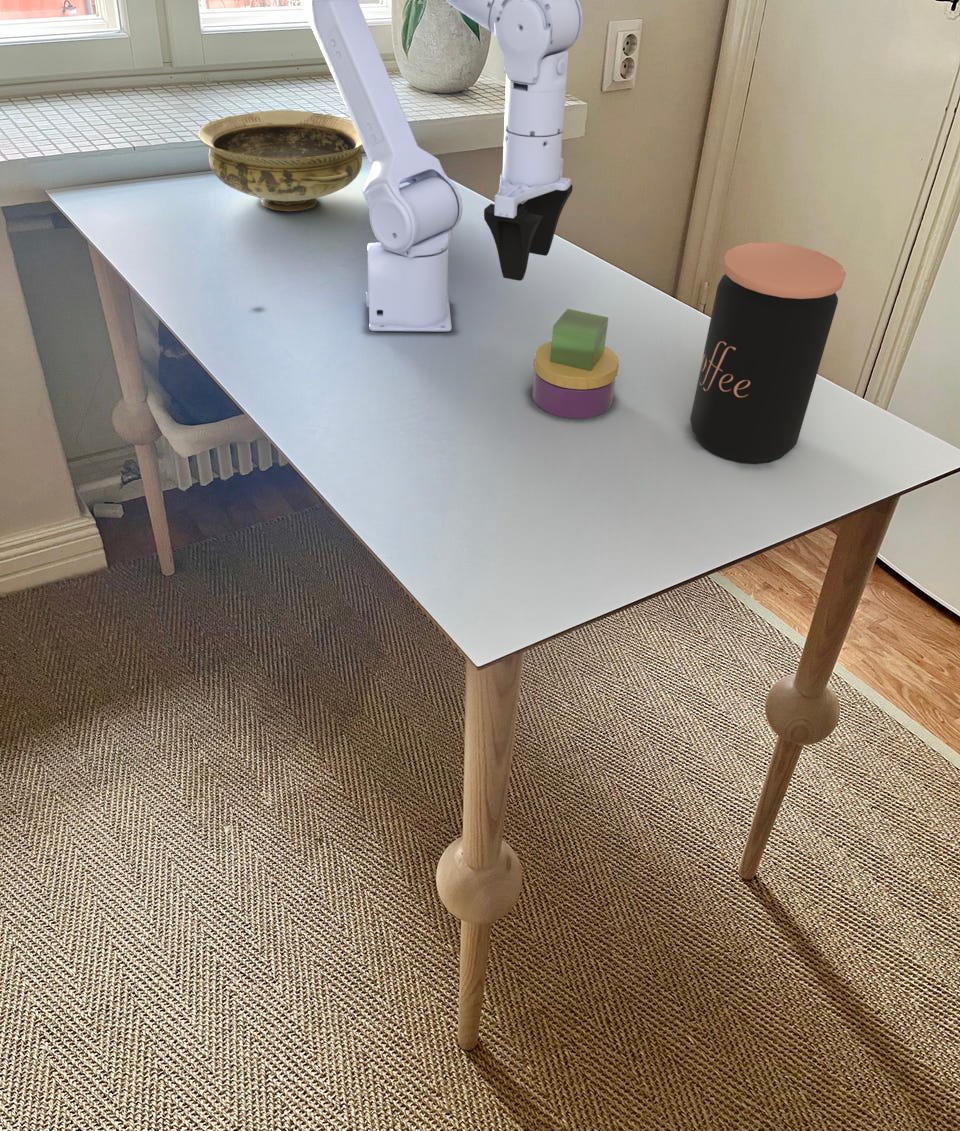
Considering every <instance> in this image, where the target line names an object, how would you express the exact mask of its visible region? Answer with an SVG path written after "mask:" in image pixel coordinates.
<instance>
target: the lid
mask: <svg viewBox="0 0 960 1131" xmlns="http://www.w3.org/2000/svg"><path fill="white" fill-rule="evenodd" d="M551 345H552V340H550V341H548V342H545V343H543V344H542V345H539V347H538V348H537V349H536V350H535V352H534V358H533V362H532V367H533V372H534V371H535V372H536V373H537V375H538V376H539V377H541V378H542V379H543V380H545V381H547V382H549V383H551V384H553V385H556V386H559V387H564V388H569V389H594V388H599V387H602V386H605V385H607V384H609V383H611V382H612V381H613V380H614V379H615V380H616V378H617V377H618V373H619V367H620V364H619V363H620V362H619V361H620V360H619V357H618V355H617V354H616V353H615V352H614V350H612V349H611V348H609V347H608V346H605V348H604V353H603V355H602V356H601V358H600V359H599V360H598V362H597V363H596V365H595V366H594V367H593V369H592V370H591V371H588V370H584V369H580V368H575V367H571V366H567V365H562V364H558V363H554V362H550V355H551Z"/></svg>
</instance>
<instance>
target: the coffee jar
mask: <svg viewBox="0 0 960 1131" xmlns="http://www.w3.org/2000/svg"><path fill="white" fill-rule="evenodd" d="M722 269H723V273H724V275H722V277H721V279H720V280H719V282H718V284H717V286H716V287H717V288H716V292H715V297H714V301H713V305H712V306H713V307H712V311H711V316H710V320H709V326H708V331H707V335H706V340H705V346H704V349H703V355H702V360H701V365H700V368H699V369H700V370H699V374H698V379H697V384H696V389H695V393H694V398H693V403H692V407H691V413H690V418H689V422H690V427H691V430H692V433H693V434H694V438H695V439H696V441H697V442H698V444H700V446H701V447H702V448H703V449H705V450H706V451H707V452H709V453H710V454H712V455H714V456H716V457H718V458H722V459H724V460H727V461H731V462H735V463H738V464H750V465H759V464H768V463H772V462H775V461H777V460H780V459H782V458H783V457H784V456H785V455H787V454H788V453H789V452H790V451H791V450H793V448H795V446H797V443H798V441H799V437H800V433H801V430H802V426H803V424H804V421H805V416H806V413H807V410H808V407H809V403H810V399H811V396H812V392H813V389H814V385H815V382H816V379H817V375H818V371H819V368H820V365H821V362H822V358H823V355H824V351H825V348H826V344H827V340H828V338H829V334H830V331H831V328H832V324H833V320H834V317H835V314H836V310H837V306H838V304H839V298H838V295H837V292H838V291H840V290H841V289H842V287H843V284H844V281H845V279H846V276H847V274H846V271H845V269H844V267H843V265H842V264H841V263H840V262H838V261H837V260H835V259H834V258H832V257H831V256H828V255H827V254H824V253H823V252H820V251H817V250H813V249H811V248H807V247H804V246H800V245H793V244H790V243H789V244H788V243H782V242H781V243H780V242H766V241H765V242H749V243H745V244H741V245H736V246H733V247H732V248H730V249H729V250H727V252H726V253H725V255H724V257H723V258H722Z"/></svg>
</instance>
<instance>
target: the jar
mask: <svg viewBox="0 0 960 1131" xmlns="http://www.w3.org/2000/svg"><path fill="white" fill-rule="evenodd" d="M532 383H533V384H532V394H531V396H532V397H531V398H532V400H533V403H534V404H535V405H536V406H537V407H538V408H539V409H541V410H542V411H544V412H546V413H548V414H550V415H553V416H556V417H561V418H566V419H575V420H577V419H589V418H594V417H599V416H600V415H603V414H604V413H606V412H607V411H609V410H610V408H611V407H612V404H613V398H614V392H615V385H616V378H615V379H614V380H613V381H612V382H611V383H609V384H607V385H605V386H602V387H599V388H594V389H569V388H564V387H559V386H556V385H553V384H551V383H549V382H547V381H545V380H543V379H542V378H541V377H539V376H538V375H537V373H536V372H535V371H534V370H533V382H532Z"/></svg>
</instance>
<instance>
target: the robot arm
mask: <svg viewBox="0 0 960 1131" xmlns="http://www.w3.org/2000/svg"><path fill="white" fill-rule="evenodd" d="M299 1H300V3H301V6H302V9H303V11H304V14H305V16H306V18H307V21H308V23H309V25H310V27H311V30H312V31H313V34H314V37H315V39H316V41H317V43H318V46H319V48H320V51H321V53H322V55H323V57H324V60H325V62H326V64H327V66H328V69H329V71H330V74H331V75H332V78H333V80H334V82H335V85H336V87H337V89H338V92H339V94H340V96H341V99H342V101H343V103H344V106H345V108H346V110H347V113H348V115H349V118H350V120H352V122H353V124H354V127H355V129H356V131H357V134H358V136H359V138H360V141H361V143H362V145H363V146H362V148H363V151H364V152H365V154H366V157H367V159H368V162H369V164H370V167H371V169H370V171H369V174H368V177H367V179H366V181H365V184H364V187H363V189H362V194H363V197H364V199H365V202H366V204H367V207H368V213H369V223H370V226H371V230H372V232H373V235H374V236H375V238H376V240H377V242H370V243H367V290H366V292H365V303H366V304H365V305H366V308H368V321H369V323H368V324H369V325H368V329H369V330H370V331H372V332H441V333H443V332H445V333H446V332H448V333H449V332H451V331H452V318H451V308H450V302H449V300H448V282H449V281H448V277H449V242H450V241H451V240H452V230H453V229H455V228H456V227H457V226H458V225H459V223H460V221H461V219H462V216H463V207H464V206H463V198H462V196H461V193H460V190H459V189H458V187H457V186H456V184H455V183H454V182H453V181H452V180H451V179H450V178H449V177H448V176H447V174H446V172H445V171H444V169H443V167H442V164H441V161H440V160H439V159H438V157H436V156H434V155H432V154H431V153H429V152H427V151H426V150H425V149H422V148H421V147H420V146H418V143H417V141H416V139H415V136H414V134H413V131H412V128H411V127H410V124H409V122H408V119H407V116H406V114H405V111H404V109H403V108H402V104H401V102H400V100H399V97H398V94H397V93H396V90H395V88H394V85H393V83H392V79H391V78H390V76H389V73H388V70H387V69H386V65H385V63H384V61H383V59H382V56H381V54H380V51H379V49H378V47H377V44H376V42H375V40H374V37H373V34H372V33H371V32H372V31H371V29H370V27H369V25H368V23H367V22H368V21H367V20H366V18H365V15H364V13H363V11H362V8H361V5H360V2H359V1H358V0H299ZM445 2H446V3H447V4H448V5H450V6H451V7H453V8H454V9H455V10H457V11H459V12H460V13H461V14H464V15H465V16H467V17H468V18H469V19H471V20H472V21H473V22H475V23H477V24H479V25H480V26H481V27H483V28H484V29H485V30H487V31H488V32H490V33H491V34H493V35H495V39H496V42H497V46H498V47H499V49H500V51H501V54H502V56H503V61H504V63H503V73H504V74H506V75H505V98H504V99H505V100H504V101H505V102H504V128H503V150H502V151H503V153H502V172H501V173H500V175H499V176H500V177H499V187H498V191H497V193H496V194H495V195H494V203H490V204H489V205H487V206H486V207H485V208H484V210H483V218H484V221H485V223H486V225H487V227H488V228H489V230H490V232H491V235H492V237H493V240H494V243H495V248H496V251H497V255H498V261H499V267H500V271H501V276H502V278H503V279H508V280H512V281H513V280H514V281H518V282H520V281H523V280H524V279H525V276H526V273H527V268H528V263H529V258H530V254H532V255H533V254H534V255H538V256H544V257H546V256H548V255H549V252H550V250H551V247H552V244H553V239H554V236H555V232H556V229H557V227H558V226H557V225H558V222H559V219H560V216H561V214H562V212H563V209H564V207H565V205H566V203H567V201H568V199H569V198H570V196H571V194H572V193H573V188H574V186H573V184H572V183H571V182H572V179H571V178H569V177H563V174H564V173H563V170H564V158H563V157H562V151H563V150H562V149H563V148H562V147H563V133H564V121H565V107H566V94H567V82H568V80H567V79H568V66H569V55H570V54H569V52H570V51H569V49H571V48H572V47H573V46H574V45H575V44H576V43H577V41H578V40H579V38H580V35H581V33H582V28H583V22H584V21H583V20H584V19H583V10H582V7H581V3H580V1H579V0H445ZM402 184H407V185H404V186H401V185H402ZM400 186H401V187H400Z"/></svg>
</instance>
